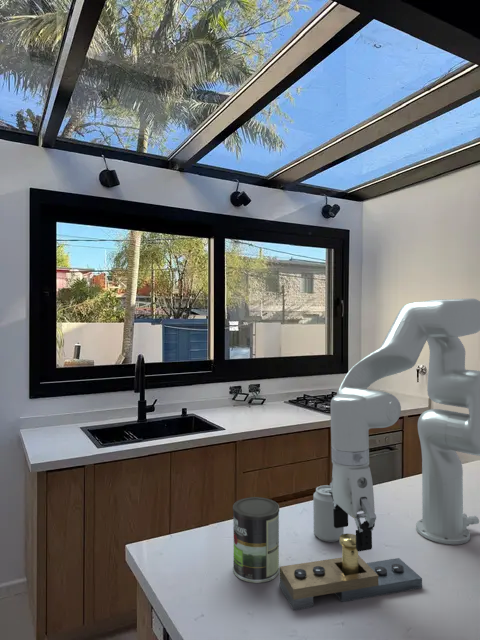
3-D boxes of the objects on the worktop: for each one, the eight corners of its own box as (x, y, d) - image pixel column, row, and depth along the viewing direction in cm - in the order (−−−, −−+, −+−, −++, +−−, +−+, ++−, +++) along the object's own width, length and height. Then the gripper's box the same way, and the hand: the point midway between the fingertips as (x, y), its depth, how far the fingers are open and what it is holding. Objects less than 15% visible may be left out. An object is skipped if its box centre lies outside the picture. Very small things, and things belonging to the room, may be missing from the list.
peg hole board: (399, 567, 99) (398, 546, 99) (422, 588, 91) (421, 565, 91) (279, 585, 92) (279, 563, 92) (293, 610, 84) (293, 586, 84)
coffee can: (244, 588, 91) (244, 519, 91) (226, 563, 101) (225, 501, 101) (288, 576, 95) (287, 511, 95) (266, 553, 105) (266, 493, 105)
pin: (354, 579, 94) (354, 532, 94) (364, 591, 90) (364, 542, 90) (336, 582, 93) (336, 534, 93) (345, 594, 89) (345, 544, 89)
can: (344, 544, 109) (343, 495, 109) (313, 542, 110) (312, 493, 110) (343, 530, 116) (342, 484, 116) (314, 528, 117) (313, 482, 117)
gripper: (390, 467, 84) (392, 556, 84) (346, 442, 101) (348, 517, 101) (354, 471, 82) (356, 563, 82) (316, 445, 99) (317, 521, 99)
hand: (352, 537), depth 92 cm, fingers open, 9 cm apart
